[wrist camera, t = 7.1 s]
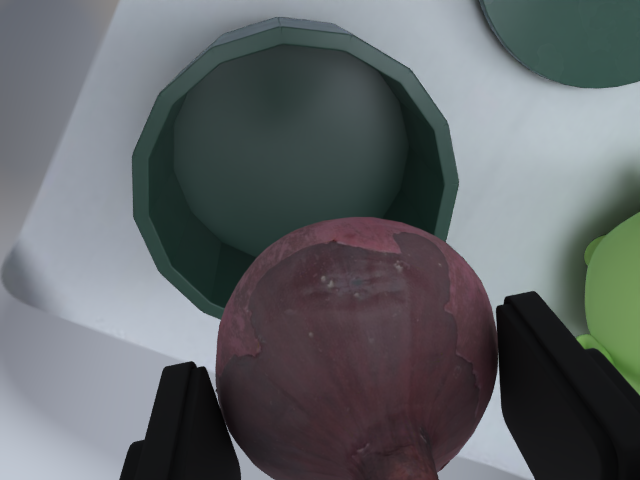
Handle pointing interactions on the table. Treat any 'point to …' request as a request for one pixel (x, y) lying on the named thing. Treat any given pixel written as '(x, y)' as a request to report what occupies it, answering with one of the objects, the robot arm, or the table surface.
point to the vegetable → (356, 353)
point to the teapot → (615, 298)
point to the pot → (283, 151)
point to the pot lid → (571, 38)
